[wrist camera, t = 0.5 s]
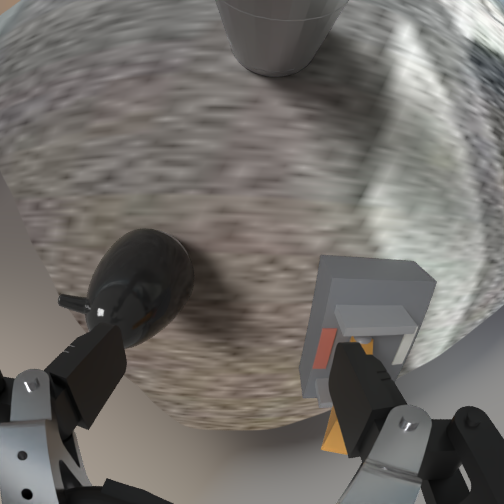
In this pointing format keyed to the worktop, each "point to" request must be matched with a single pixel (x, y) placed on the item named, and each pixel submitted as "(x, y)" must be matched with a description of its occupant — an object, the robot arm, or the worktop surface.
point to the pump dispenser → (137, 286)
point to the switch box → (362, 315)
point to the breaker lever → (333, 433)
